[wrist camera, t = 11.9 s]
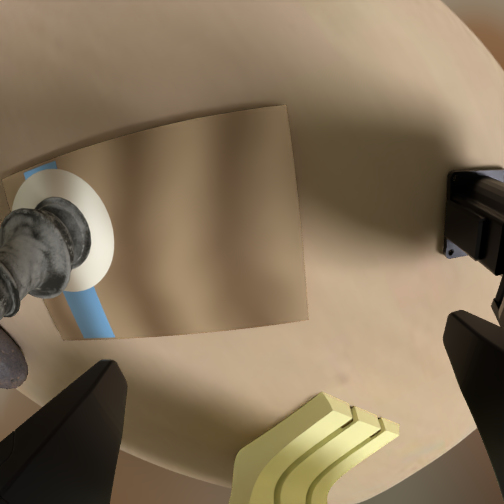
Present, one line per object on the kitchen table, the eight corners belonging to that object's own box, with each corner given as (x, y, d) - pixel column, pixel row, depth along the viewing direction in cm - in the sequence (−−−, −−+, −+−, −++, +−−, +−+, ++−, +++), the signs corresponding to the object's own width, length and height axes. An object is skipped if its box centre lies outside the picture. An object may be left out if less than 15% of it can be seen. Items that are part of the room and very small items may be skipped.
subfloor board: (284, 105, 17) (286, 104, 16) (306, 311, 23) (308, 320, 22) (5, 177, 18) (-3, 181, 17) (63, 333, 24) (58, 341, 23)
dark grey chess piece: (28, 185, 17) (-106, 260, 6) (98, 201, 18) (-35, 306, 7) (29, 261, 20) (-72, 360, 9) (93, 282, 20) (3, 411, 9)
